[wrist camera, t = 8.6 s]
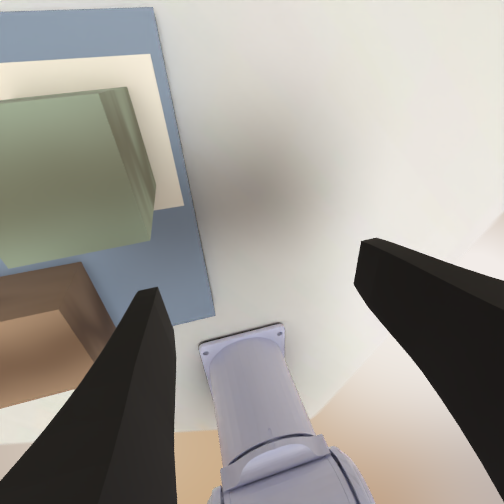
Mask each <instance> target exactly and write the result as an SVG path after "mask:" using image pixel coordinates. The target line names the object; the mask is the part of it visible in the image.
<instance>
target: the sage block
mask: <svg viewBox="0 0 504 504" xmlns="http://www.w3.org/2000/svg"><path fill="white" fill-rule="evenodd" d="M155 193H156V182H155V179H154V176H153V172H152V169H151V165H150V162H149V159H148V155H147V152H146V149H145V145H144V142H143V139H142V135H141V132H140V128H139V125H138V122H137V118H136V115H135V112H134V108H133V105H132V102H131V98H130V95H129V91H128V88H127V87H119V88H109V89H100V90H90V91H81V92H71V93H62V94H52V95H43V96H33V97H24V98H14V99H7V100H0V258H1V260H2V261H3V262H4V264H5V265H6V266H7V267H8V269H10V268H15V267H20V266H25V265H30V264H35V263H40V262H45V261H50V260H55V259H60V258H65V257H70V256H75V255H81V254H86V253H91V252H96V251H101V250H106V249H111V248H116V247H121V246H126V245H131V244H136V243H141V242H146V241H150V239H151V230H152V221H153V211H154V202H155Z"/></svg>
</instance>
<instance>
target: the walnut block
mask: <svg viewBox="0 0 504 504" xmlns="http://www.w3.org/2000/svg"><path fill="white" fill-rule="evenodd" d="M115 329H116V327H115V325H114V323H113V321H112V319H111V317H110V316H109V314H108V312H107V310H106V308H105V306H104V304H103V302H102V300H101V298H100V297H99V295H98V293H97V291H96V289H95V287H94V285H93V283H92V281H91V279H90V278H89V276H88V274H87V272H86V270H85V268H84V266H83V264H82V262H76V263H71V264H66V265H60V266H55V267H50V268H44V269H39V270H33V271H28V272H23V273H17V274H12V275H7V276H1V277H0V409H1V408H5V407H8V406H12V405H16V404H20V403H24V402H27V401H31V400H35V399H39V398H42V397H46V396H50V395H54V394H58V393H61V392H65V391H69V390H73V389H76V388H77V387H78V385H79V384H80V382H81V381H82V379H83V378H84V377H85V375H86V374H87V372H88V371H89V369H90V368H91V366H92V365H93V363H94V362H95V360H96V359H97V358H98V356H99V355H100V353H101V351H102V350H103V348H104V347H105V345H106V343H107V342H108V340H109V339H110V337H111V335H112V334H113V332H114V331H115Z"/></svg>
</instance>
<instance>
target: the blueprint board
mask: <svg viewBox="0 0 504 504" xmlns="http://www.w3.org/2000/svg"><path fill="white" fill-rule="evenodd" d="M119 87H127V88H128V91H129V95H130V98H131V102H132V105H133V108H134V112H135V115H136V118H137V122H138V125H139V128H140V132H141V135H142V139H143V142H144V145H145V149H146V152H147V155H148V159H149V162H150V165H151V169H152V172H153V176H154V179H155V182H156V193H155V202H154V211H153V221H152V230H151V239H150V241H146V242H141V243H136V244H131V245H126V246H121V247H116V248H111V249H106V250H101V251H96V252H91V253H86V254H81V255H75V256H70V257H65V258H60V259H55V260H50V261H45V262H40V263H35V264H30V265H25V266H20V267H15V268H10V269H8V267H7V266H6V265H5V264H4V262H3V261H2V260H1V258H0V277H1V276H7V275H12V274H17V273H23V272H28V271H33V270H39V269H44V268H50V267H55V266H60V265H66V264H71V263H76V262H82V264H83V266H84V268H85V270H86V272H87V274H88V276H89V278H90V279H91V281H92V283H93V285H94V287H95V289H96V291H97V293H98V295H99V297H100V298H101V300H102V302H103V304H104V306H105V308H106V310H107V312H108V314H109V316H110V317H111V319H112V321H113V323H114V325H115V327H117V326H118V324H119V322H120V321H121V319H122V317H123V315H124V314H125V312H126V310H127V308H128V307H129V305H130V303H131V301H132V300H133V298H134V296H135V294H136V293H137V292H138V291H140V290H144V289H149V288H153V287H158V288H159V291H160V294H161V296H162V299H163V302H164V305H165V307H166V310H167V313H168V315H169V318H170V321H171V324H172V326H174V325H179V324H183V323H187V322H191V321H195V320H200V319H204V318H208V317H212V316H215V311H214V306H213V301H212V296H211V291H210V286H209V281H208V276H207V271H206V266H205V261H204V256H203V251H202V247H201V242H200V237H199V232H198V227H197V222H196V217H195V212H194V207H193V202H192V197H191V192H190V188H189V183H188V178H187V173H186V168H185V163H184V158H183V153H182V148H181V143H180V138H179V133H178V128H177V124H176V119H175V114H174V109H173V104H172V99H171V94H170V89H169V84H168V79H167V74H166V69H165V64H164V60H163V55H162V50H161V45H160V40H159V35H158V30H157V25H156V20H155V15H154V11H153V7H142V8H110V9H79V10H47V11H15V12H0V100H7V99H14V98H24V97H33V96H43V95H52V94H62V93H71V92H81V91H90V90H100V89H109V88H119Z"/></svg>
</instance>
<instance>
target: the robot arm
mask: <svg viewBox="0 0 504 504" xmlns="http://www.w3.org/2000/svg"><path fill="white" fill-rule="evenodd" d="M354 286H355V287H356V289H357V291H358V292H359V294H360V295H361V297H362V299H363V300H364V302H365V303H366V305H367V306H368V307H369V309H370V310H371V311H372V312H373V313H374V315H375V316H376V317H377V318H378V319H379V321H380V322H381V323H382V324H383V325H384V327H385V328H386V329H387V330H388V331H389V332H390V334H391V335H392V336H393V337H394V338H395V339H396V341H397V342H398V343H399V344H400V345H401V346H402V347H403V349H404V350H405V351H406V352H407V353H408V355H409V356H410V357H411V358H412V359H413V361H414V362H415V363H416V364H417V366H418V367H419V368H420V370H421V371H422V372H423V374H424V375H425V377H426V378H427V379H428V381H429V382H430V384H431V385H432V387H433V388H434V389H435V391H436V392H437V394H438V395H439V396H440V398H441V399H442V401H443V403H444V404H445V405H446V407H447V409H448V410H449V412H450V413H451V415H452V416H453V418H454V419H455V421H456V422H457V423H458V425H459V427H460V428H461V430H462V432H463V433H464V435H465V436H466V438H467V440H468V441H469V443H470V445H471V446H472V448H473V449H474V451H475V453H476V454H477V456H478V458H479V459H480V461H481V462H482V464H483V466H484V468H485V470H486V471H487V473H488V475H489V476H490V478H491V480H492V482H493V484H494V485H495V487H496V489H497V491H498V492H499V494H500V496H501V498H502V499H503V501H504V281H502V280H499V279H496V278H492V277H489V276H486V275H483V274H480V273H477V272H474V271H471V270H468V269H464V268H461V267H458V266H456V265H453V264H450V263H447V262H444V261H441V260H439V259H436V258H433V257H430V256H428V255H425V254H422V253H420V252H417V251H414V250H411V249H409V248H406V247H403V246H400V245H398V244H395V243H392V242H389V241H386V240H382V239H379V238H373V239H369V240H364V241H361V246H360V251H359V257H358V262H357V268H356V274H355V279H354ZM284 348H285V328H284V326H283V325H282V324H276V325H272V326H268V327H264V328H261V329H257V330H253V331H249V332H245V333H241V334H237V335H233V336H229V337H225V338H221V339H218V340H214V341H210V342H206V343H202V344H201V345H200V346H199V352H200V355H201V359H202V363H203V366H204V370H205V373H206V377H207V380H208V384H209V387H210V391H211V394H212V398H213V401H214V406H215V413H216V420H217V427H218V435H219V442H220V448H221V456H222V463H223V468H221V470H220V473H221V480H222V486H218V487H215V488H214V489H213V490H212V495H211V496H210V498H209V500H208V502H207V504H375V501H374V499H373V497H372V494H371V492H370V490H369V489H368V486H367V484H366V482H365V480H364V478H363V477H362V475H361V473H360V471H359V470H358V468H357V467H356V465H355V464H354V462H353V461H352V460H351V459H350V457H349V456H347V455H346V454H345V453H343V452H342V451H341V450H340V449H338V448H337V447H335V446H331V447H328V446H327V444H326V441H325V439H324V437H323V435H322V434H320V435H317V436H316V435H315V432H314V430H313V427H312V425H311V422H310V420H309V417H308V415H307V413H306V410H305V408H304V405H303V403H302V400H301V398H300V396H299V393H298V391H297V388H296V386H295V384H294V381H293V379H292V376H291V374H290V371H289V369H288V367H287V364H286V362H285V359H284ZM175 384H176V350H175V339H174V329H173V326H172V324H171V321H170V318H169V315H168V313H167V310H166V307H165V305H164V302H163V299H162V296H161V294H160V291H159V288H158V287H153V288H149V289H144V290H140V291H138V292H137V293H136V294H135V296H134V298H133V300H132V301H131V303H130V305H129V307H128V308H127V310H126V312H125V314H124V315H123V317H122V319H121V321H120V322H119V324H118V326H117V327H116V329H115V331H114V332H113V334H112V335H111V337H110V339H109V340H108V342H107V343H106V345H105V347H104V348H103V350H102V351H101V353H100V355H99V356H98V358H97V359H96V360H95V362H94V363H93V365H92V366H91V368H90V369H89V371H88V372H87V374H86V375H85V377H84V378H83V379H82V381H81V382H80V384H79V385H78V387H77V388H76V389H75V391H74V392H73V393H72V395H71V396H70V397H69V399H68V400H67V401H66V403H65V404H64V405H63V407H62V408H61V409H60V411H59V412H58V413H57V414H56V416H55V417H54V418H53V420H52V421H51V422H50V423H49V425H48V426H47V427H46V428H45V430H44V431H43V432H42V433H41V434H40V436H39V437H38V438H37V439H36V440H35V442H34V443H33V444H32V445H31V446H30V448H29V449H28V450H27V451H26V452H25V453H24V455H23V456H22V457H21V458H20V459H19V460H18V461H17V463H16V464H15V465H14V466H13V467H12V468H11V469H10V471H9V472H8V473H7V474H6V475H5V476H4V477H3V479H2V480H1V481H0V504H177V493H176V476H175V459H174V414H175Z"/></svg>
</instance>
